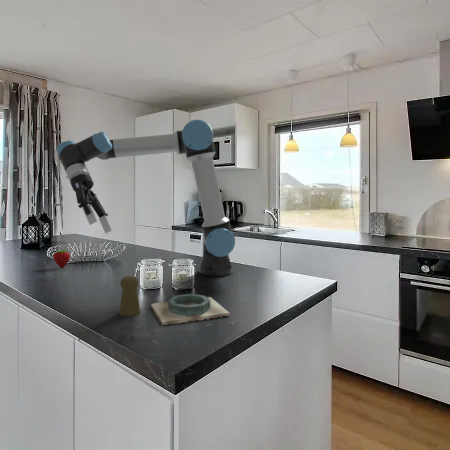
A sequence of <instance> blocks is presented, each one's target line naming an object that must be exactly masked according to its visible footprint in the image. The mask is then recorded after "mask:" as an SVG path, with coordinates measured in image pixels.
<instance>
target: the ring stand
mask: <svg viewBox="0 0 450 450" xmlns="http://www.w3.org/2000/svg"><path fill="white" fill-rule="evenodd" d="M150 306H151V307H150V308H151V309H152V310H153V312H154V314H155V315H156V317H157V318H159V319H158V320H159V323H161V325H162V326H167V325H168V324H170V325H175V324H176V325H177V324H183V322H184V323H190V322H189V321H191V322H197V321H196V320H198V321H203V320H204V319H206V320H211V319H210V318H213V319H218V318H217V317H220V318H223V317H222V316H227V317H229V316H228V315H230V312H229V311H228V310H227V309H226V308H224V307H223V306H222V305H221V304H220V303H218V302H217V301H216V300H215V299H213V298H212V297H211V296H205V295H204V294H203V295H202V294H195V293H187V294H186V293H185V294H177V295H174V296H173V297H171V298H169V299H168V300H167V301H165V302H163V301H162V302H156V303H154V302H153V303H151V304H150ZM230 316H231V315H230ZM204 321H205V320H204Z"/></svg>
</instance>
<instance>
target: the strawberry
mask: <svg viewBox="0 0 450 450" xmlns="http://www.w3.org/2000/svg"><path fill="white" fill-rule="evenodd" d="M61 249H62V250H57V251H56V252H55V253H54V254H53V257H52V258H53V260H54V262H55V264H56V265H57V266H58V267H59V268H60V269H64V268H65V267H66V266H67V264H68V263H69V261H70V260H71V255H70V253H69V251H67V249H63V248H61Z"/></svg>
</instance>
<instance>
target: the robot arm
mask: <svg viewBox="0 0 450 450" xmlns="http://www.w3.org/2000/svg"><path fill="white" fill-rule="evenodd" d="M184 125H185V126H184V127H183V129H182V130H176V131H175V132H174V133H167V134H157V135H149V136H148V135H147V136H138V137H137V136H136V137H127V138H126V137H125V138H115V139H109V136H107V134H106V133H105V132H104V131H99V132H97V133H94V134H92V135H90V136H89V137H86V138H84V139H82V140H81V141H79V142H75V141H73V140H66V141H65V140H64V141H61V142H60V143H59V144H58V145H57V147H56V152H57V155H58V158H59V161H60V163H61V165H62V166H63V169H64V171H65V173H66V175H67V176H66V178H67V179H68V180H69V183H70V186H71V188H72V190H73V191H74V192H75V196H76V197H75V198H76V202H77V204H78V208H79V209H82V211H83V213H84V215H85V217H86V219H87V222H88V225H92V224H95V223H97V222H98V221H99V222H100V225H101V227H102V229H103V232H104V233H105V234H108V233H110V232H112V231H113V228H112V226H111V224H110V221H109V219H108V216H109V214H108V213H107V212H106V210H105V208H104V207H103V205H102V204H101V202H100V200H99V198H98V196H97V194H96V193H95V192H94V191H93V190H92V188H93V187H94V185H95V183H94V180H93V178H92V177H91V174H90V172H89V169H88V167H87V165H86V163H87V162H89V161H90V160H93V159H96V158H97V159H99V160H104V161H106V160H110V159H114V158H124V157H125V158H126V157H137V156H147V155H158V154H168V153H169V154H170V153H177V154H178V155H183V154H185V155H186V156H185V157H186V159H187V161H189V162H191V166H192V169H193V176H194V179H195V183H196V184H195V185H196V190H197V193H198V198H199V199H198V200H199V203H200V207H201V211H202V216H203V220H204V221H203V222H202V225H201V229H202V257H201V260H200V263H199V266H198V273H199V274H201V275H204V276H208V277H209V276H210V277H211V276H212V277H221V276H228V275H231V274H233V265H232V262H231V258H230V256H229V255H230V254H231V253H232V252H233V251H234V248H235V245H236V238H235V237H236V236H235V235H234V233H233V230H232V225H231V221H230V219H229V218H227V217H226V215H225V210H224V207H223V201H222V200H223V199H222V197H221V192H220V186H219V183H218V177H217V171H216V166H215V164H214V163H215V161H214V156H215V154H216V149H215V143H214V131H213V128H212V127H211V126H210V124H209V123H208V122H206V121H205V120H203V119H193V120H192V119H191V120H190V121H188V122H187V123H186V124H184ZM95 213H96V214H95ZM96 215H97V217H98V219H97V217H96Z"/></svg>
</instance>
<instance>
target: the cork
mask: <svg viewBox="0 0 450 450" xmlns="http://www.w3.org/2000/svg"><path fill="white" fill-rule="evenodd" d="M119 283H120V287H121V289H122V290H121V300H120V306H119V307H120V308H119V315H120V316H121V315H122V317H135V316H137V315H140V313H141V309H140V302H139V295H138V289H137V288H138V286H139V278H138V277H136V276H134V275H133V276H132V275H128V276H124V277H122V278H121V280H120V282H119Z"/></svg>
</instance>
